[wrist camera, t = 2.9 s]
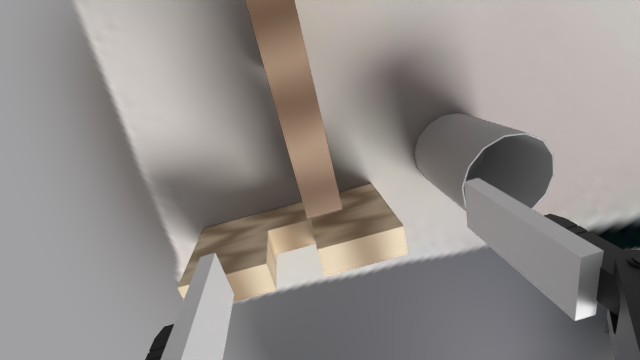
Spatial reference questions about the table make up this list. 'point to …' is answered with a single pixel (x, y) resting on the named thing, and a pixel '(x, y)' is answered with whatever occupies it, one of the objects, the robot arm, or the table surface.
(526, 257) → the robot arm
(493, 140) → the cup
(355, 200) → the notched wooden slab
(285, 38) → the walnut plate
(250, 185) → the table surface
